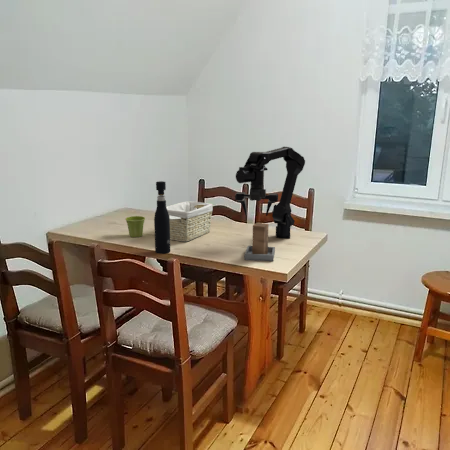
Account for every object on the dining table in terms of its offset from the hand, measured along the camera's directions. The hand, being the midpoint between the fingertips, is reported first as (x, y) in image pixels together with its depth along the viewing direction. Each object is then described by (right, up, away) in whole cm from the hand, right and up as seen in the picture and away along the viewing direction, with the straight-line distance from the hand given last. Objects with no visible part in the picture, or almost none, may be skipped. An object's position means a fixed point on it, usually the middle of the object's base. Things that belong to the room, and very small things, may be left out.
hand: (256, 215), depth 202 cm
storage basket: (-32, -9, +16) cm, 37 cm away
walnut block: (+1, -17, -14) cm, 22 cm away
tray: (+1, -17, -14) cm, 22 cm away
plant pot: (-57, -10, +15) cm, 60 cm away
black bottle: (-41, -16, -9) cm, 45 cm away
